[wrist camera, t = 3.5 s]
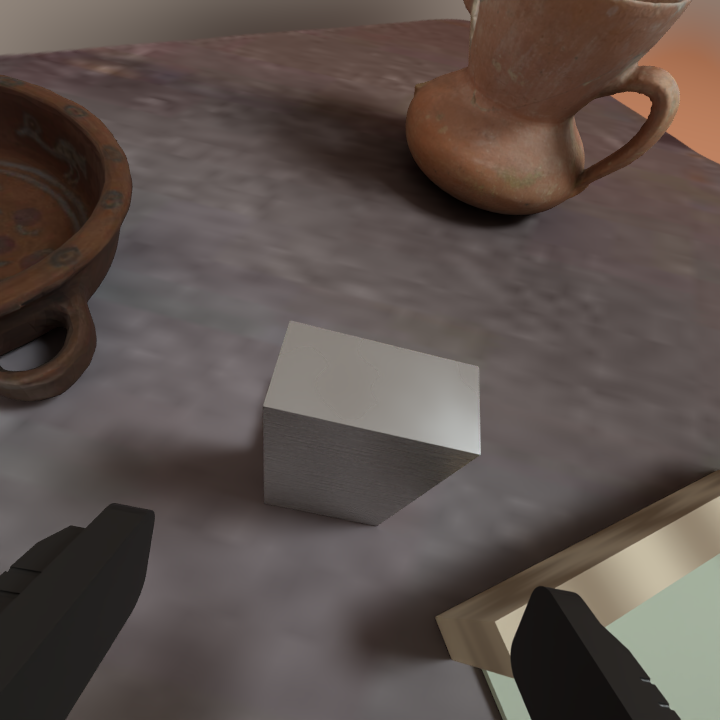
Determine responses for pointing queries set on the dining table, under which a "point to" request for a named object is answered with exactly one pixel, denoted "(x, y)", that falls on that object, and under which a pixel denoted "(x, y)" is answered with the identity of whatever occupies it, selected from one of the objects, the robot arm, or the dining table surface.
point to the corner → (594, 573)
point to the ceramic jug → (538, 99)
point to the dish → (54, 229)
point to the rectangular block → (363, 424)
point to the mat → (662, 647)
